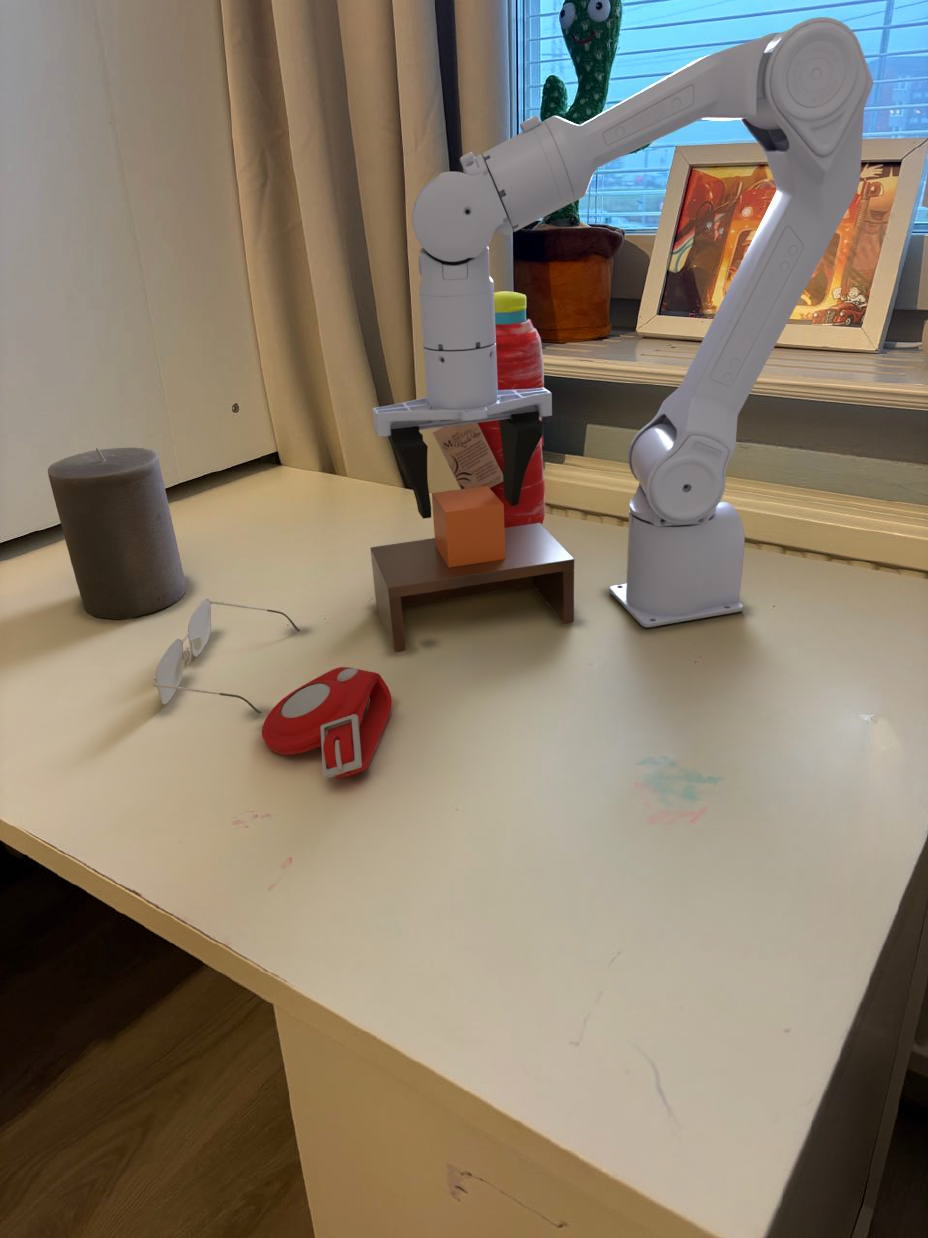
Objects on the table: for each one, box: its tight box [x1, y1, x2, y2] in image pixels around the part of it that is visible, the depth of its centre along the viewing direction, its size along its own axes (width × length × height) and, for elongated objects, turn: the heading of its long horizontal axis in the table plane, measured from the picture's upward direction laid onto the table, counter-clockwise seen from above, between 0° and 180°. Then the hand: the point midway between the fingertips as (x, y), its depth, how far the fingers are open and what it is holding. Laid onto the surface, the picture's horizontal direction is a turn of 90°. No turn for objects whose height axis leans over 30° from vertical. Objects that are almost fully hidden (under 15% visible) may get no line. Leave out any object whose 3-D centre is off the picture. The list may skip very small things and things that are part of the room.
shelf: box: [369, 523, 575, 653], centre depth 80 cm, size 16×9×6 cm, turn 105°
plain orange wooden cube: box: [431, 486, 505, 568], centre depth 77 cm, size 5×5×5 cm
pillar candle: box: [47, 446, 187, 620], centre depth 85 cm, size 10×10×15 cm
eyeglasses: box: [152, 598, 301, 715], centre depth 74 cm, size 14×8×4 cm, turn 176°
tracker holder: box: [261, 666, 393, 779], centre depth 64 cm, size 12×4×10 cm
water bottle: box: [432, 290, 546, 528], centre depth 90 cm, size 12×8×25 cm, turn 124°
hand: (468, 508), depth 77 cm, fingers open, 7 cm apart
